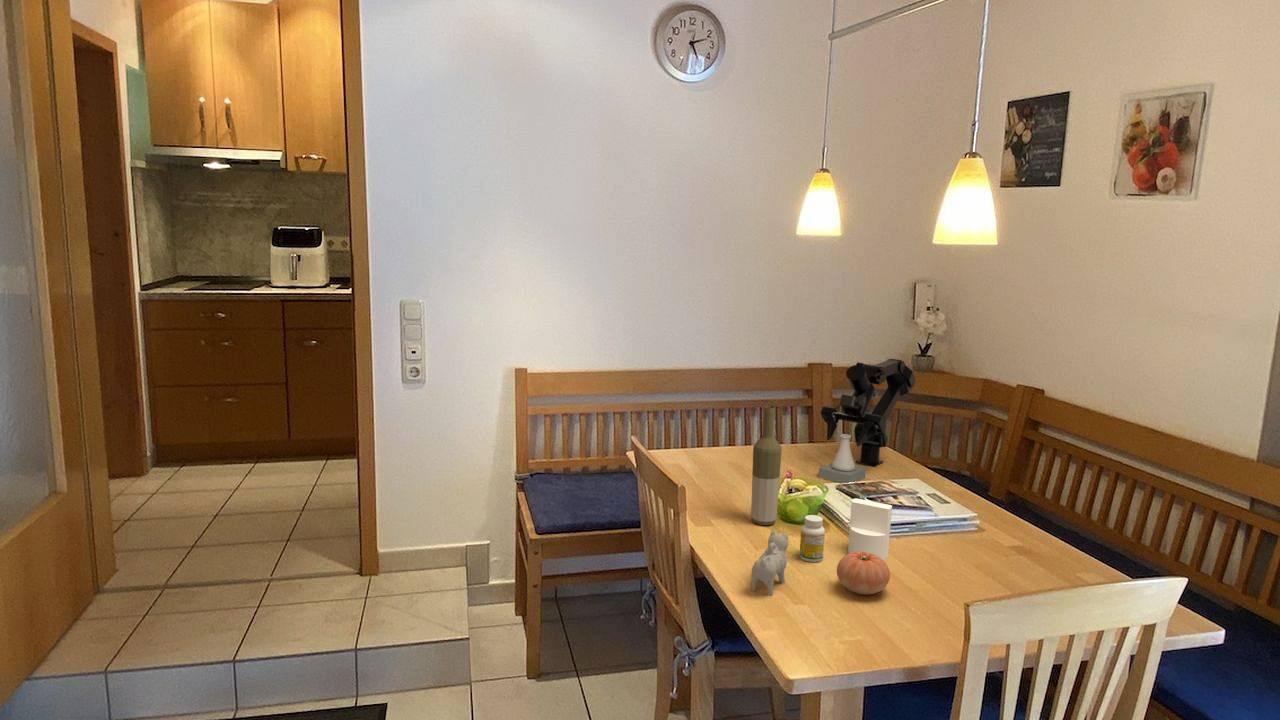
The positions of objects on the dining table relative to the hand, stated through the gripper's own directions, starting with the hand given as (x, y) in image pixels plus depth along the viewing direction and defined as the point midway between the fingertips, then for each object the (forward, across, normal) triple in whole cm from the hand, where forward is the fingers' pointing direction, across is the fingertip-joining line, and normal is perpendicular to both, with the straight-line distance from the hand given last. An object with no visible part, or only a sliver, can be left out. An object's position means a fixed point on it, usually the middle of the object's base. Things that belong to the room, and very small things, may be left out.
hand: (842, 442), depth 247 cm
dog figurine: (+62, +19, -46) cm, 79 cm away
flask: (+5, 0, +7) cm, 8 cm away
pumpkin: (+54, +35, -38) cm, 75 cm away
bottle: (+40, 0, -24) cm, 47 cm away
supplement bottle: (+49, +20, -33) cm, 62 cm away
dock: (+7, 0, +9) cm, 11 cm away
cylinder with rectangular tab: (+41, +28, -25) cm, 55 cm away
